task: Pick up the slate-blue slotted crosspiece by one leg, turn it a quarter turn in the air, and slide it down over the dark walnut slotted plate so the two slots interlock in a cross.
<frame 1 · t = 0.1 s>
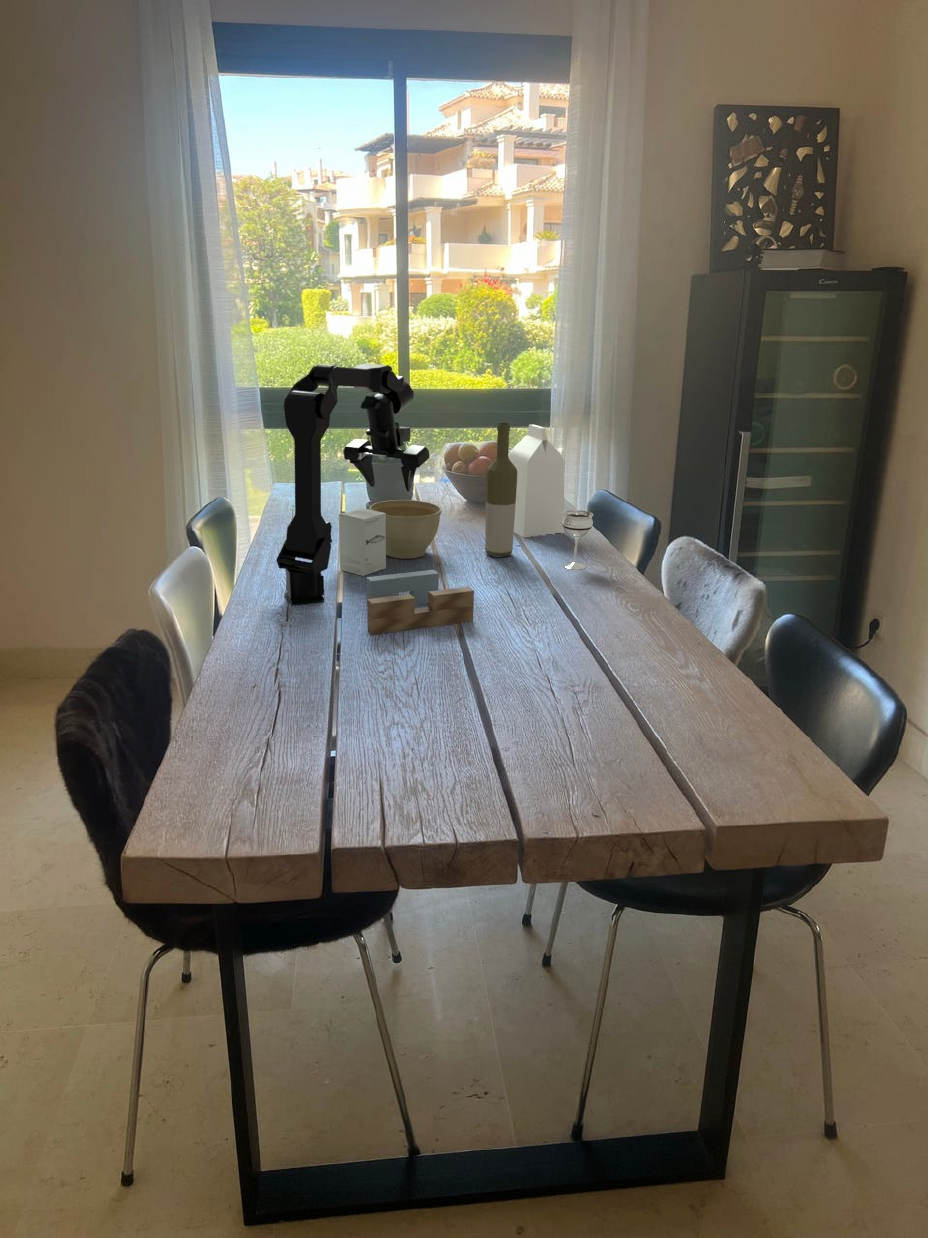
hand: (390, 488, 210), 15 cm above the table, tool pointing down, fingers open, 9 cm apart
planter bowl: (405, 554, 217), on the table
milk: (532, 530, 240), on the table
walnut slotted plate: (421, 625, 174), on the table
slate-blue slotted crosspiece: (402, 604, 185), on the table
supplement box: (363, 570, 205), on the table
wineglass: (574, 566, 211), on the table
bottle: (498, 555, 218), on the table
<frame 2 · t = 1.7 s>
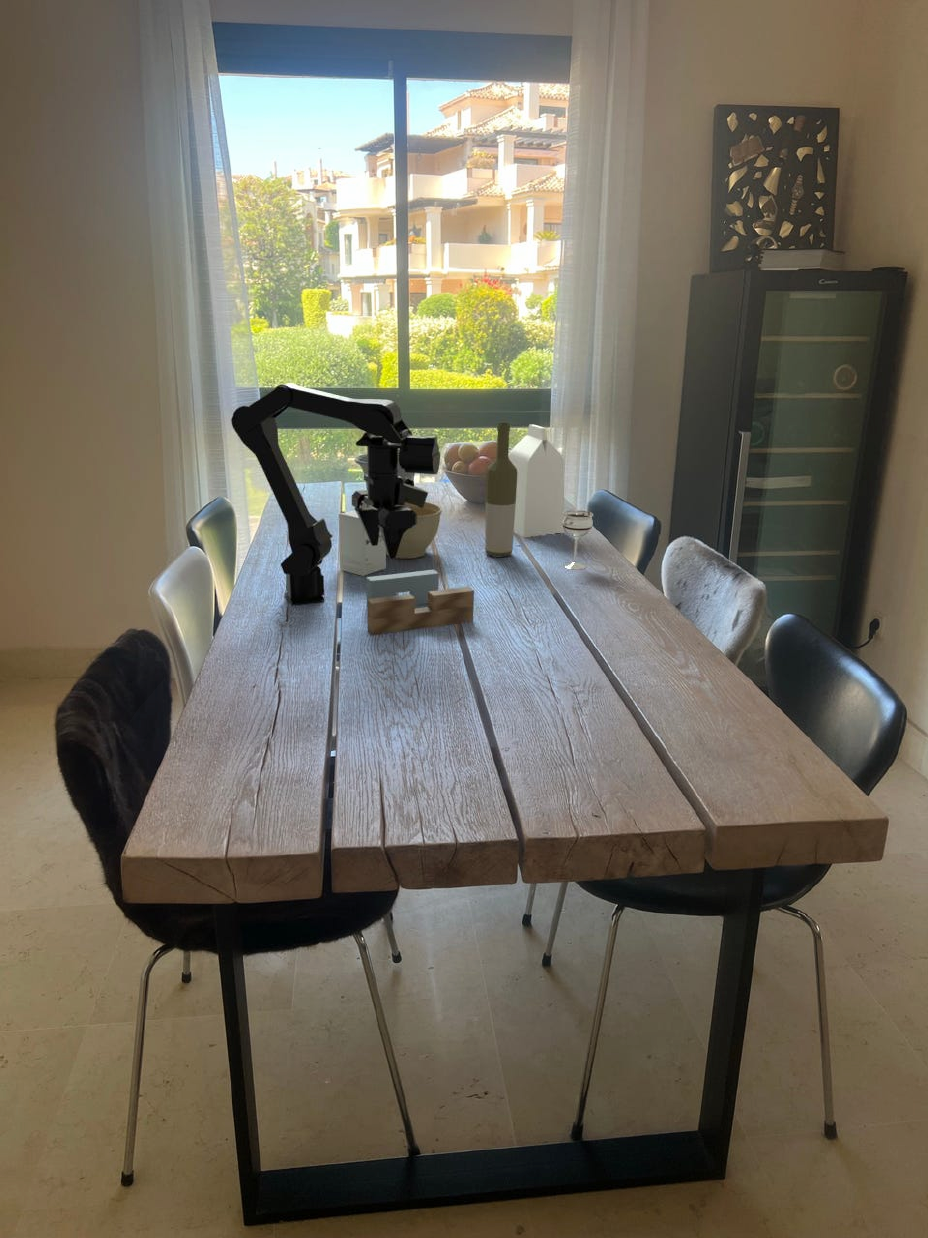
hand: (383, 551, 180), 11 cm above the table, tool pointing down, fingers open, 9 cm apart
nothing on the table moved.
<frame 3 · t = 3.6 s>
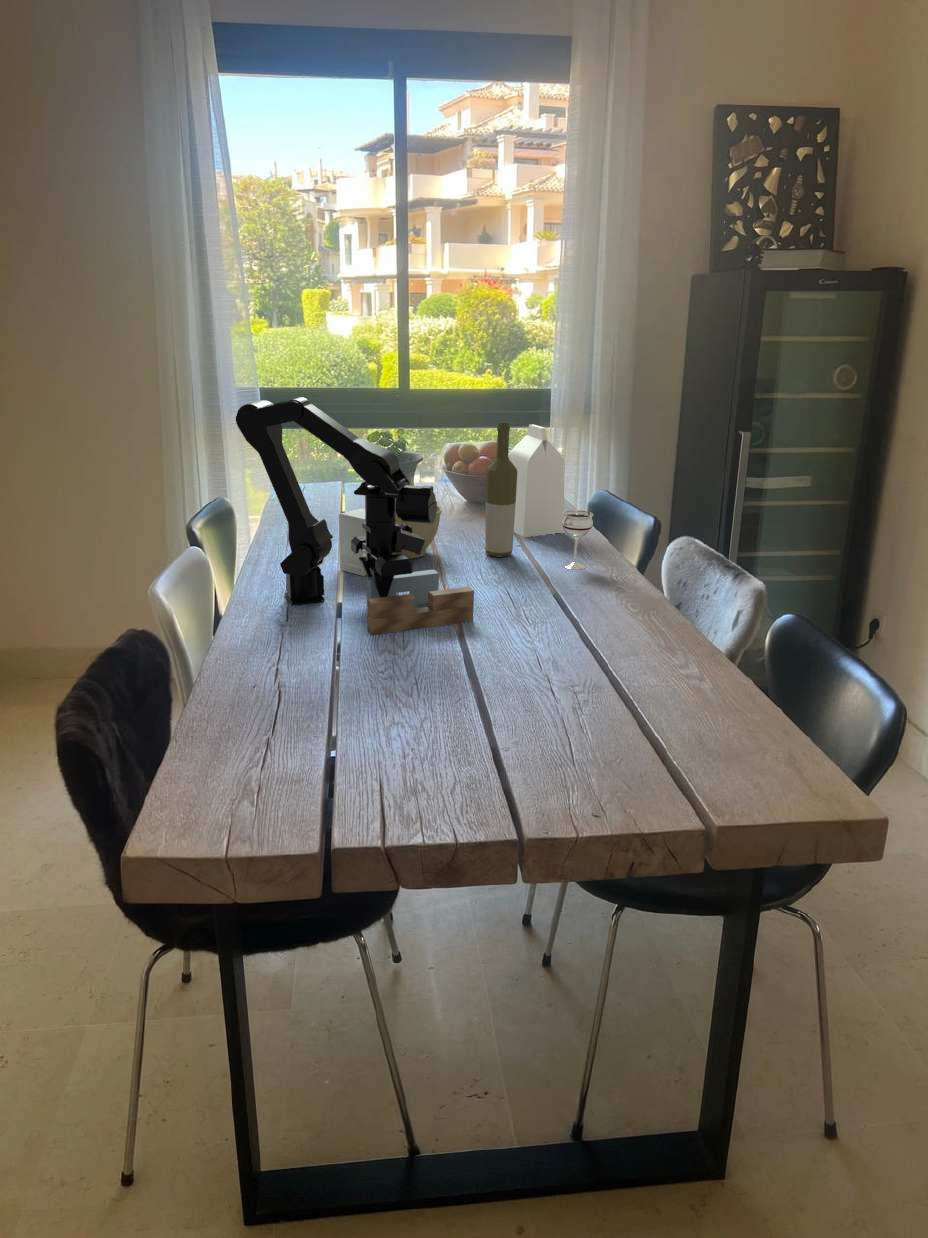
hand: (381, 597, 182), 2 cm above the table, tool pointing down, fingers closed on slate-blue slotted crosspiece, 2 cm apart
slate-blue slotted crosspiece: (403, 604, 185), on the table, touching gripper
everything else where it was.
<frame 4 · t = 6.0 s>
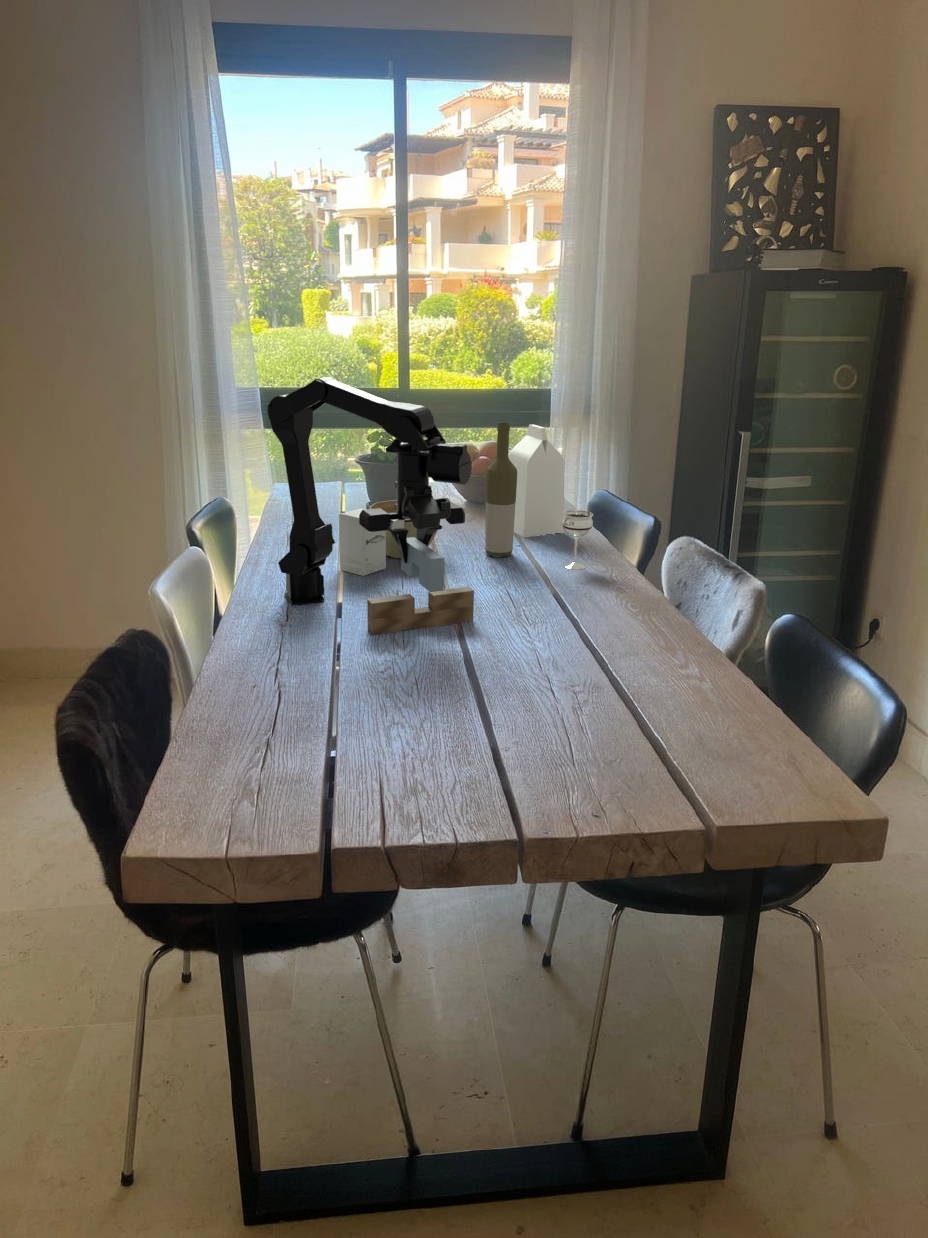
hand: (412, 561, 174), 11 cm above the table, tool pointing down, fingers closed on slate-blue slotted crosspiece, 2 cm apart
slate-blue slotted crosspiece: (421, 579, 171), point 9 cm above the table, touching gripper
everything else where it was.
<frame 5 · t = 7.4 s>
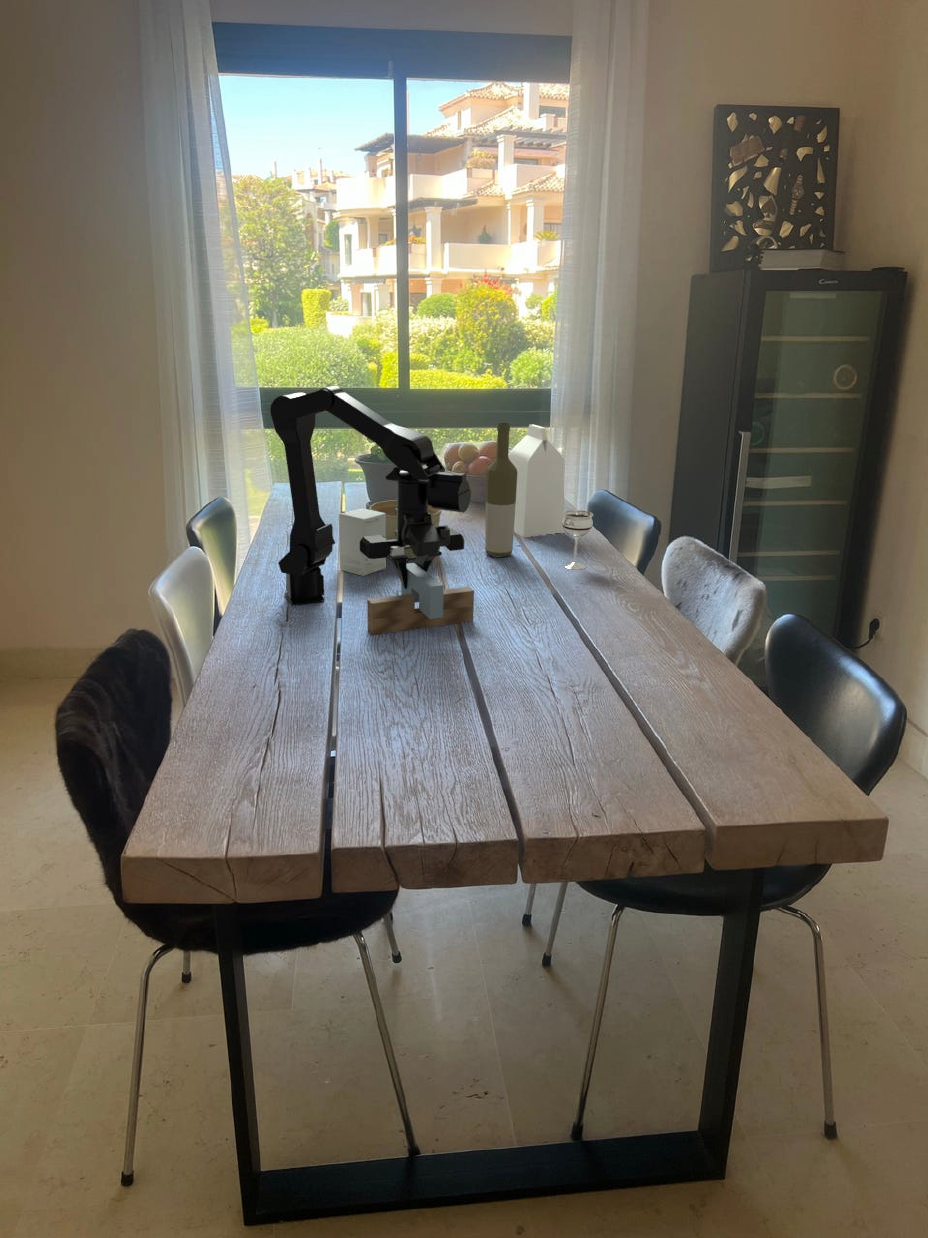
hand: (412, 587, 176), 6 cm above the table, tool pointing down, fingers closed on slate-blue slotted crosspiece, 2 cm apart
slate-blue slotted crosspiece: (421, 605, 173), point 4 cm above the table, touching gripper
everything else where it was.
when the fingers open (3 cm above the table, at t = 8.4 s): slate-blue slotted crosspiece stays where it is, resting on walnut slotted plate.
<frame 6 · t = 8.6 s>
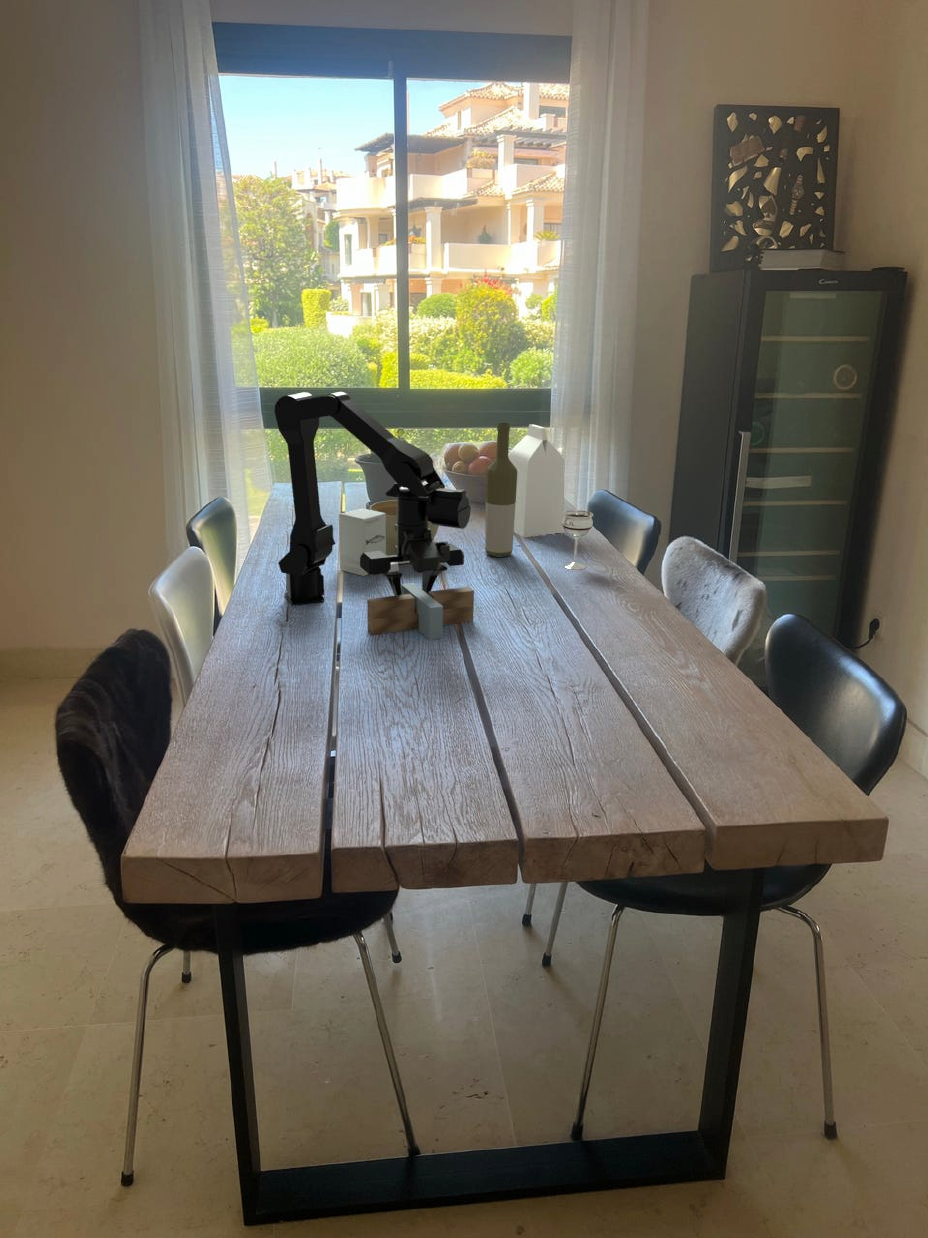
hand: (412, 602, 177), 3 cm above the table, tool pointing down, fingers open, 5 cm apart
slate-blue slotted crosspiece: (421, 625, 174), resting on walnut slotted plate
everything else where it was.
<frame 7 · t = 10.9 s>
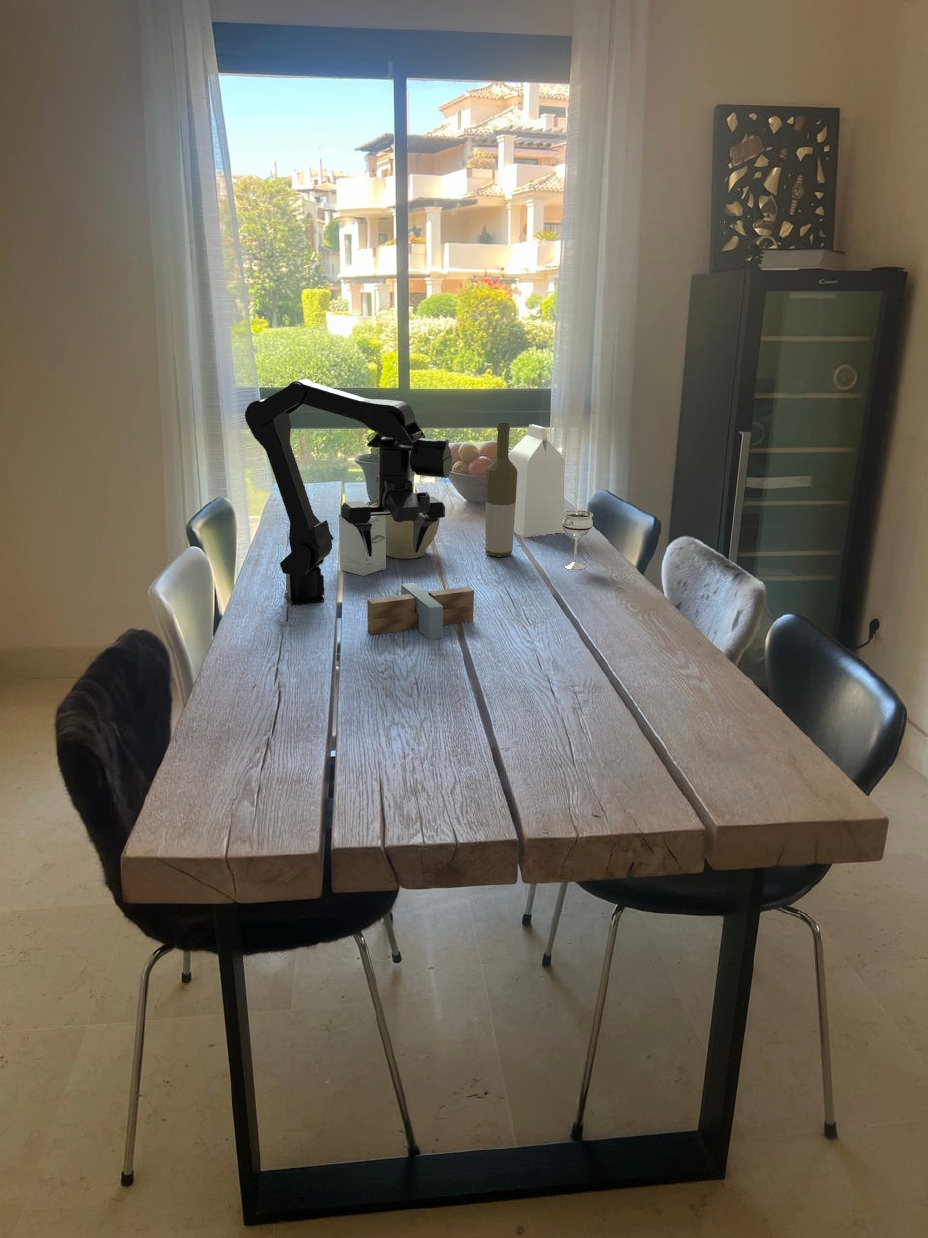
hand: (392, 554, 178), 11 cm above the table, tool pointing down, fingers open, 9 cm apart
nothing on the table moved.
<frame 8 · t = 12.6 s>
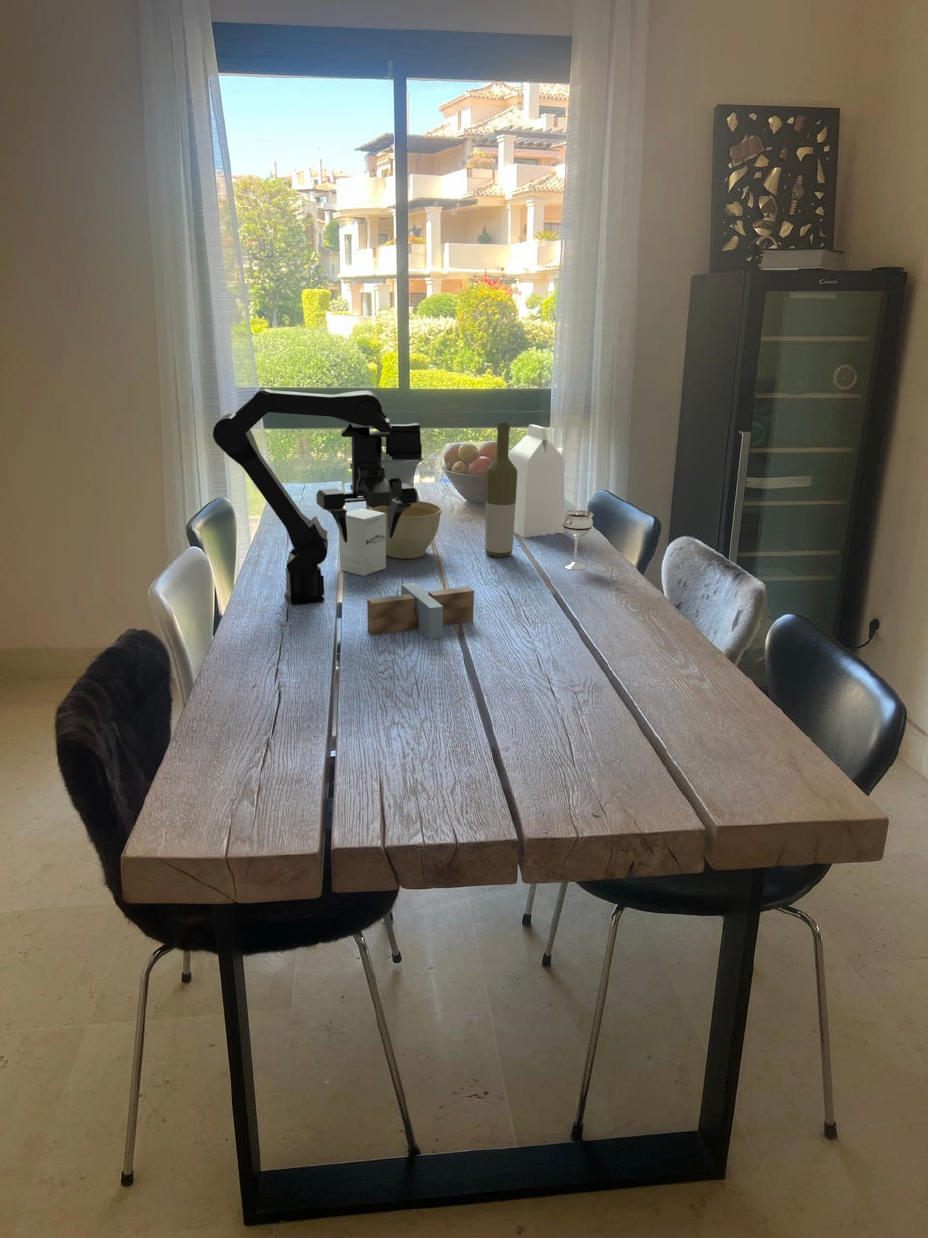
hand: (368, 539, 184), 12 cm above the table, tool pointing down, fingers open, 9 cm apart
nothing on the table moved.
at the end: slate-blue slotted crosspiece 0.1 cm off-centre on the walnut slotted plate, point 0.0 cm above the walnut slotted plate's base; slate-blue slotted crosspiece tilted 0°; the gripper is holding nothing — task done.
